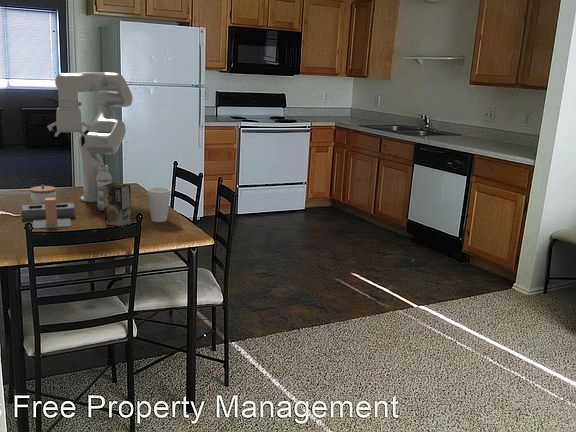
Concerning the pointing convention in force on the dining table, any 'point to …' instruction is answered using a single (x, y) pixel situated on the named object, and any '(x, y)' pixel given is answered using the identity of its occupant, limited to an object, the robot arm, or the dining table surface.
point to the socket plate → (39, 211)
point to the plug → (50, 211)
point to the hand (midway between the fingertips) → (70, 145)
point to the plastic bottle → (102, 184)
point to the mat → (42, 224)
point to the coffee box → (117, 204)
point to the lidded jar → (42, 193)
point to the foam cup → (158, 203)
